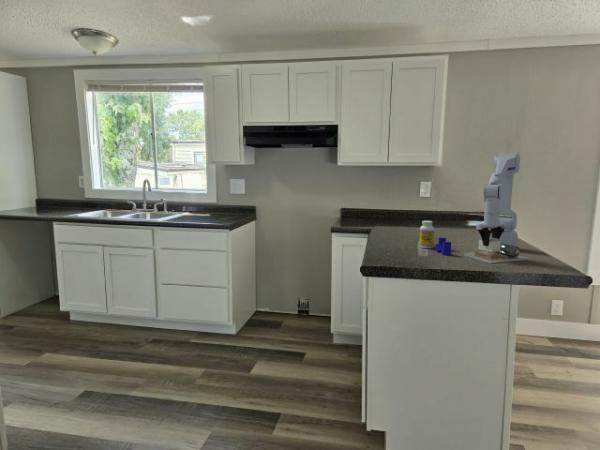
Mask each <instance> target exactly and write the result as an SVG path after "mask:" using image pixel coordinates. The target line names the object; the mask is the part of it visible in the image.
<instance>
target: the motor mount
mask: <svg viewBox="0 0 600 450" xmlns="http://www.w3.org/2000/svg"><path fill="white" fill-rule="evenodd" d="M520 254H521V248H520V247H519V246H518V245H517V246H513V245H508V244H504V243H500V251H495V252H490V251H485V250H482V251H473V252H472V251H471V252H464V253H463V256H466V257H469V258H472V259H476V260H479V261H480V262H481V261H482V262H485V263H488V264H496V263H497V264H498V263H509V262H517V261H527V260H528V257H526V256H523V255H520Z"/></svg>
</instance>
